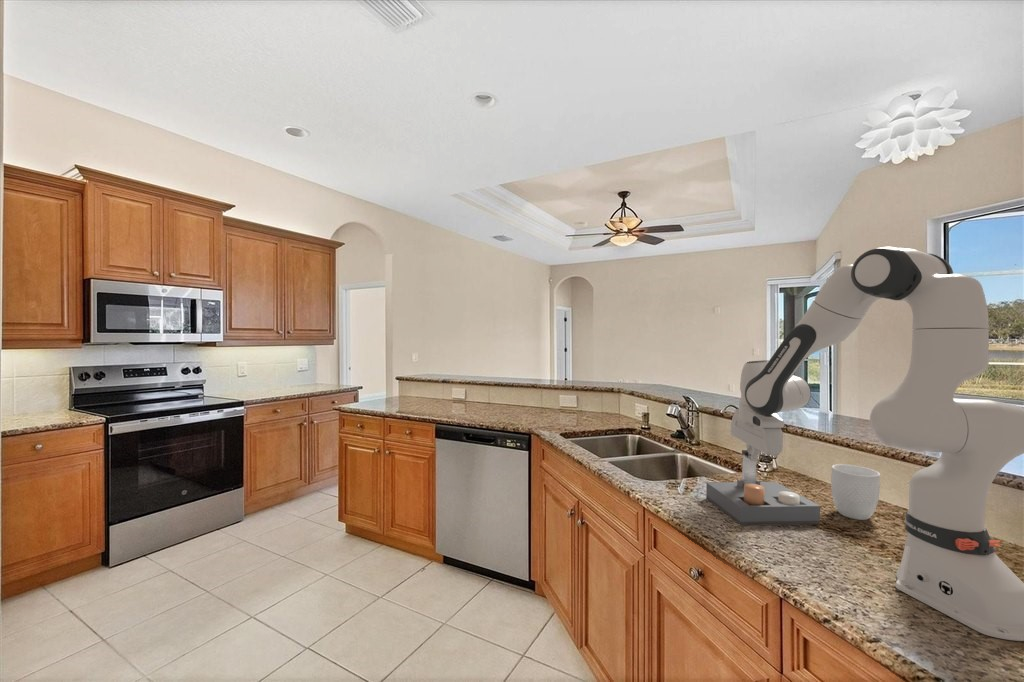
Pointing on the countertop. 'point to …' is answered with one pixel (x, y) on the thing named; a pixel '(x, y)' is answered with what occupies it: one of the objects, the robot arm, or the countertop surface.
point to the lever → (748, 469)
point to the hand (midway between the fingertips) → (752, 460)
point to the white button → (789, 498)
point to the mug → (855, 490)
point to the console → (770, 513)
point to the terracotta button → (754, 494)
